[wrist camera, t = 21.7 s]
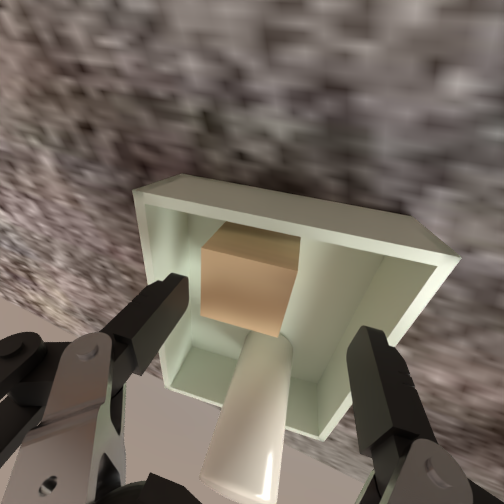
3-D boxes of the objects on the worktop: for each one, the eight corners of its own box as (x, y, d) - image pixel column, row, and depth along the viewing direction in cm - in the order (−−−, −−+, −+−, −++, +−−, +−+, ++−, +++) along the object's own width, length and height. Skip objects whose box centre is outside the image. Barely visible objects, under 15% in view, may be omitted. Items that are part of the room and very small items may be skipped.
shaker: (257, 321, 19) (212, 469, 11) (303, 346, 20) (292, 510, 11) (237, 346, 22) (190, 479, 14) (278, 367, 22) (254, 512, 14)
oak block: (231, 215, 15) (201, 247, 11) (301, 230, 15) (298, 271, 10) (226, 271, 18) (200, 315, 14) (285, 286, 17) (277, 337, 13)
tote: (182, 173, 15) (132, 189, 11) (412, 216, 13) (461, 257, 9) (189, 344, 25) (164, 388, 21) (321, 384, 23) (323, 442, 19)
